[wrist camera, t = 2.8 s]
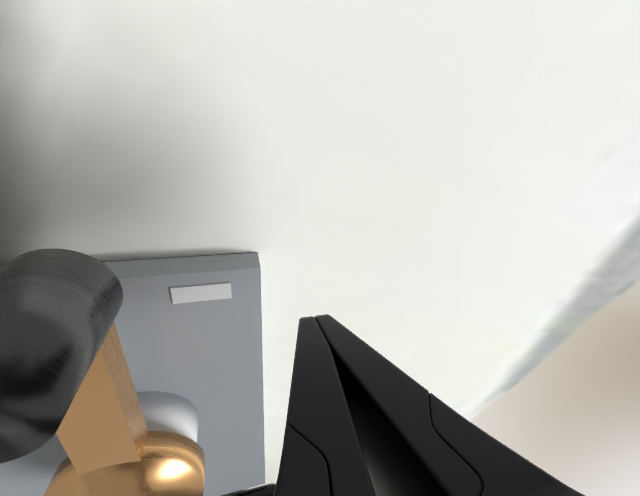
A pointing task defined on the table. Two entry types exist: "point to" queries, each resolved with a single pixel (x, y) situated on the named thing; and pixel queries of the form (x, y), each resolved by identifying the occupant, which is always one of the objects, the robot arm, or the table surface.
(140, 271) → the base
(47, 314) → the crank handle
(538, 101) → the table surface
